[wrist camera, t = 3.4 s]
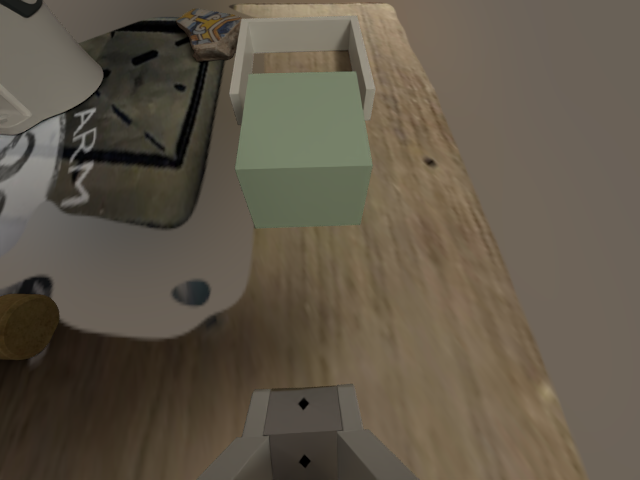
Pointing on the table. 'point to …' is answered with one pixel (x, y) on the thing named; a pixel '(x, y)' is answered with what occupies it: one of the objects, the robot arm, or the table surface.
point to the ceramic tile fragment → (211, 34)
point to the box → (300, 49)
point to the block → (304, 150)
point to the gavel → (26, 324)
